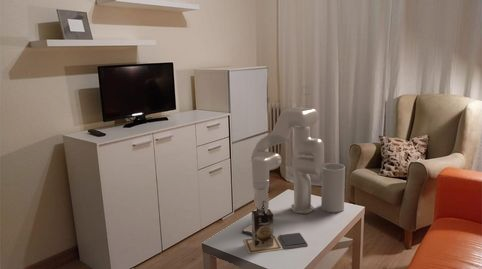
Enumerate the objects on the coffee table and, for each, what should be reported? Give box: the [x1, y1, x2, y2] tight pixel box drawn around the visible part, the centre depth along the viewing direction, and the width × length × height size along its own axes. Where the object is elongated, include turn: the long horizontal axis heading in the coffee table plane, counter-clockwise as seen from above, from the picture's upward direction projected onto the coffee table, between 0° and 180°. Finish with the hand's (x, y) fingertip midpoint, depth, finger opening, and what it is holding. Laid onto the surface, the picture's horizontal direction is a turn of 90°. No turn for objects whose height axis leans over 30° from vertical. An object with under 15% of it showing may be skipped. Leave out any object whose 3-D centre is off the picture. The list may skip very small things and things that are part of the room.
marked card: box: [243, 234, 284, 255], centre depth 176 cm, size 13×16×1 cm
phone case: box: [241, 223, 252, 237], centre depth 192 cm, size 9×2×16 cm
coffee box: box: [251, 208, 274, 248], centre depth 175 cm, size 9×6×16 cm
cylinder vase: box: [320, 162, 346, 213], centre depth 209 cm, size 12×12×25 cm
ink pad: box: [277, 232, 309, 250], centre depth 178 cm, size 11×11×2 cm
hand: (262, 217), depth 174 cm, fingers open, 9 cm apart
